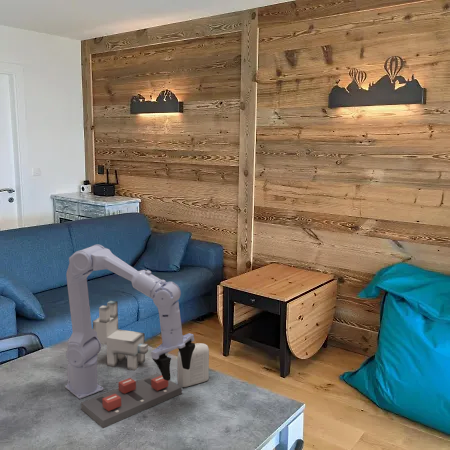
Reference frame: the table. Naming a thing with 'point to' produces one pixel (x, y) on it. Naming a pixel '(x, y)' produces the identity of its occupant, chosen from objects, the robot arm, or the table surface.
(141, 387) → the slider switch panel
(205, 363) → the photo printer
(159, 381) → the switch
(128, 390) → the switch
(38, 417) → the table surface
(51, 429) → the table surface
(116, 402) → the switch
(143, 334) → the toy llama
